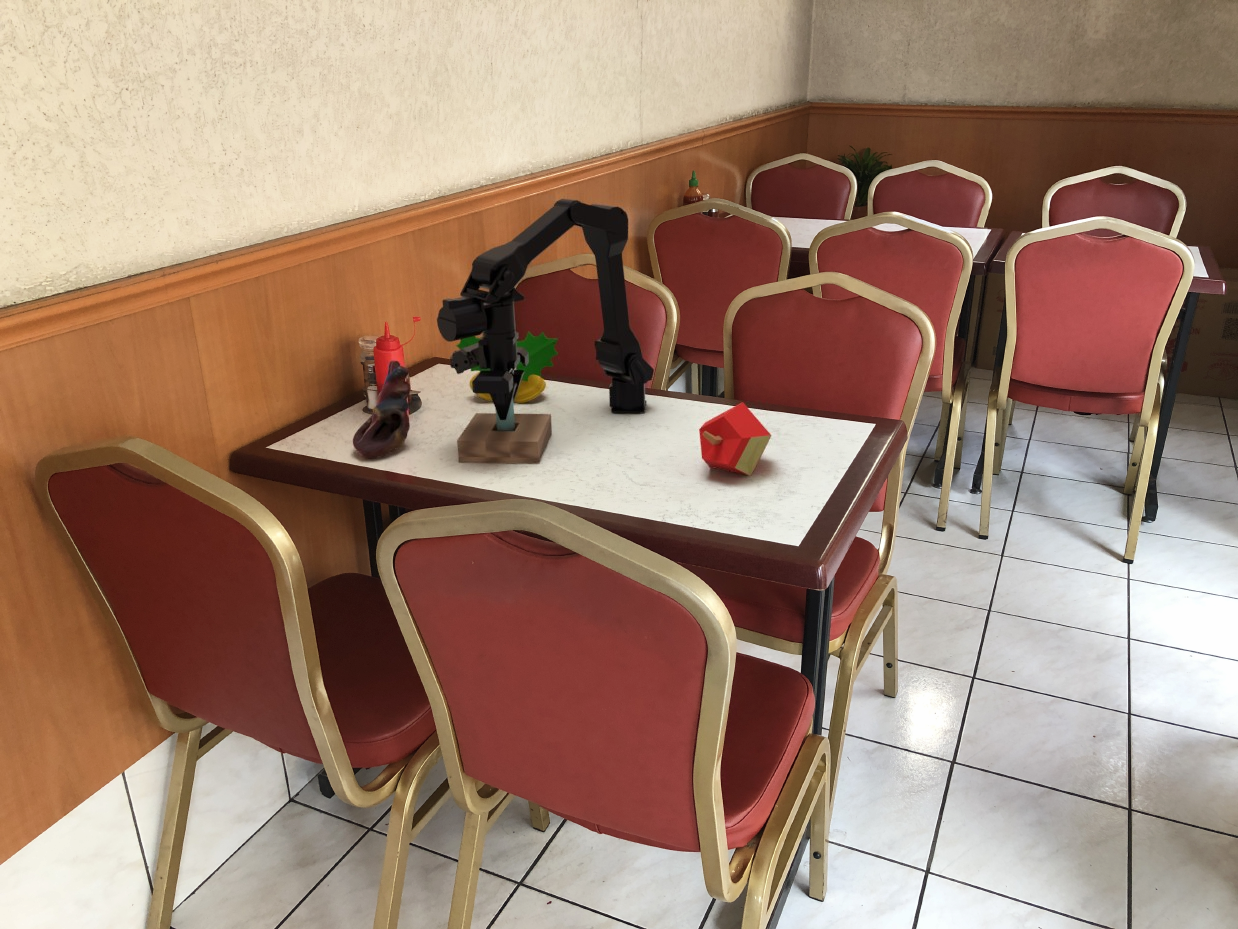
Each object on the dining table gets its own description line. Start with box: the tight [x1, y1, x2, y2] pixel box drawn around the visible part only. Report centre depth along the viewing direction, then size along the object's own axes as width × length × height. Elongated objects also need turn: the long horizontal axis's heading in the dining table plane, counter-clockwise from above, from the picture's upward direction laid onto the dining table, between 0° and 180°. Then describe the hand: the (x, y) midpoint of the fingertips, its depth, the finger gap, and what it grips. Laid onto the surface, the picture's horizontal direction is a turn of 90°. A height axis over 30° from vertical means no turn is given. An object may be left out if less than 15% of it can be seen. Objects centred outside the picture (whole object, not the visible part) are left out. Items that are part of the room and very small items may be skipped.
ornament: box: [455, 331, 559, 404], centre depth 195 cm, size 21×8×15 cm, turn 84°
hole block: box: [456, 412, 553, 465], centre depth 172 cm, size 14×14×4 cm
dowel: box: [494, 398, 515, 431], centre depth 170 cm, size 3×3×8 cm
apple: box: [698, 401, 772, 477], centre depth 159 cm, size 12×12×15 cm
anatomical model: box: [352, 360, 411, 459], centre depth 171 cm, size 9×13×15 cm
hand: (505, 416), depth 170 cm, fingers closed on dowel, 3 cm apart
